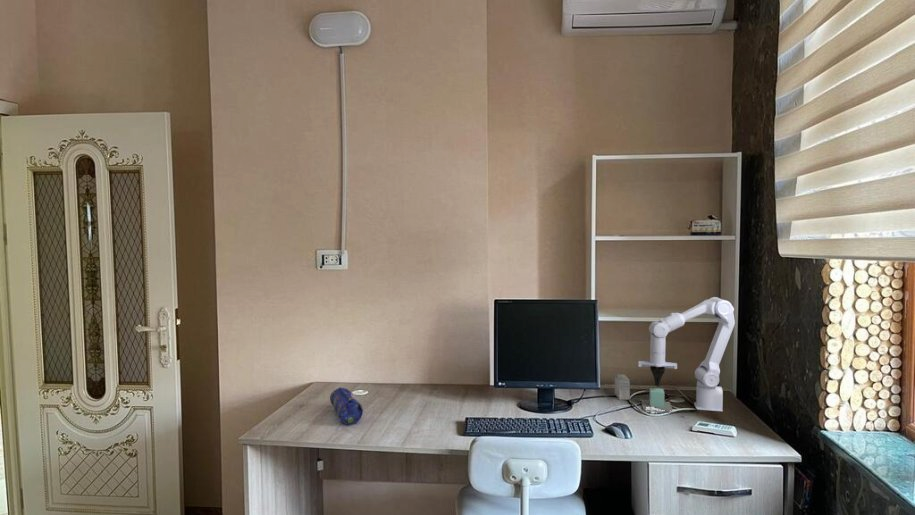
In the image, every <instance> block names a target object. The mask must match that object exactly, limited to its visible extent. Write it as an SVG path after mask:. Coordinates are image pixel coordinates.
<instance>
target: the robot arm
mask: <svg viewBox="0 0 915 515" xmlns="http://www.w3.org/2000/svg"><path fill="white" fill-rule="evenodd" d="M734 311H735V308H734V306H733V305H732V303H731V302H730V301H728V300H726V299H722V298H720V297H717V296H713V297H710V298H709V299H705V300H703V301H702V302H700V303H698V304H697V305H695V306H692V307H691V308H689V309H687V310H685V311H683V312H681V313H679V312H671V313H670V315H667V316H665V317H664V318H659V320H653V321H652V322H651V323H650V324H649V327H648V331H649V334H650V341H649V342H650V344H649V360H638V363H637V364H638V365H637V366H638V368H642V367H645V368H650V371H651V374H652V376H653V379H654V386H656V387H659V386H660V383H661V380H662V377H663V375H664V374H665V371H666V369H674V370H677V369H678V363H677V362H669V361H666V347H667V346H666V338H667V335H668V334H669V333H671V332H673V331H676V330H677V329H680V328H681V327H684V325H685V323H686V322H687V321H689V320H691V319H695V318H697V317H698V316H701V315H704V314H707V315H713V316H714V317H715V318H716V320H717V323H718V325H717V327H716V330H715V333H714V335H713V337H712V341H711V343H710V346H709V348H708V351H707V352H706V356H705V359H704V360H703V361H701V362H700V364H699V366H698V367H697V368H696V369H695V371H694V377H695V379H696V381H697V382H696V392H695V393H696V396H695V397H696V398H695V400H696V401H695V402H693V404H694V407H695V409H696V410H697V411H712V412H724V411H723V402H724V401H723V399H724V396H723V395H724V394H723V393H724V391H723V387H722V386H718V385H719V383H720V375H721V374H720V373H721V369H720V364H721V361H722V359H723V356H724V354H725V350H726V348H727V345H728V342H729V340H730V337H731V335H732V332H733V330H734V327H735V324H736V321H735V315H734Z"/></svg>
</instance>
